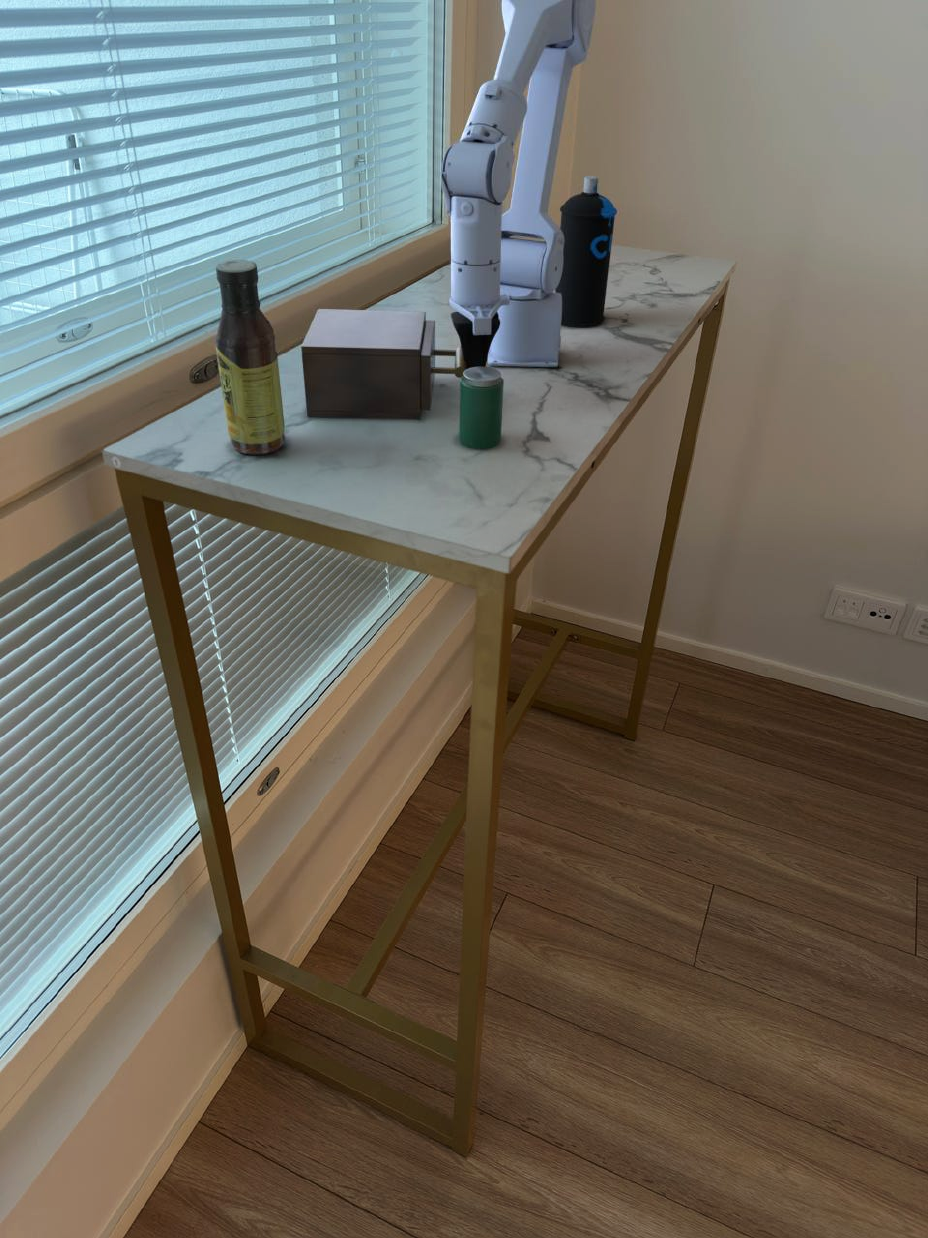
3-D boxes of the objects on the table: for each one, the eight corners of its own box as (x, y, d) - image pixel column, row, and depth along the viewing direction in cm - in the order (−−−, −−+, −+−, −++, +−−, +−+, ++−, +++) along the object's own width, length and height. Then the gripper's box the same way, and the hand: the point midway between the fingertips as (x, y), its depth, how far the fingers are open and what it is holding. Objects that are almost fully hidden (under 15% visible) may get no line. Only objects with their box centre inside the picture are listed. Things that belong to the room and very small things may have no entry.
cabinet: (426, 376, 119) (425, 311, 114) (420, 419, 108) (419, 349, 103) (323, 374, 119) (318, 308, 114) (307, 416, 108) (300, 346, 103)
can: (494, 429, 107) (496, 363, 102) (506, 447, 103) (509, 379, 98) (454, 433, 106) (455, 367, 101) (465, 451, 102) (467, 383, 97)
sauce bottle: (233, 433, 104) (208, 253, 92) (288, 433, 105) (270, 254, 93) (226, 459, 99) (199, 272, 87) (284, 458, 99) (264, 272, 88)
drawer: (466, 373, 118) (467, 321, 114) (464, 411, 108) (466, 356, 104) (339, 369, 118) (336, 317, 114) (326, 408, 108) (322, 352, 104)
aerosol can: (544, 323, 138) (555, 179, 126) (560, 307, 144) (571, 169, 132) (596, 330, 135) (612, 185, 123) (610, 314, 142) (627, 174, 130)
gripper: (519, 276, 98) (515, 395, 106) (501, 241, 110) (499, 350, 118) (455, 278, 98) (455, 397, 106) (444, 242, 109) (445, 352, 117)
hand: (474, 373), depth 112 cm, fingers closed, pressing on drawer
